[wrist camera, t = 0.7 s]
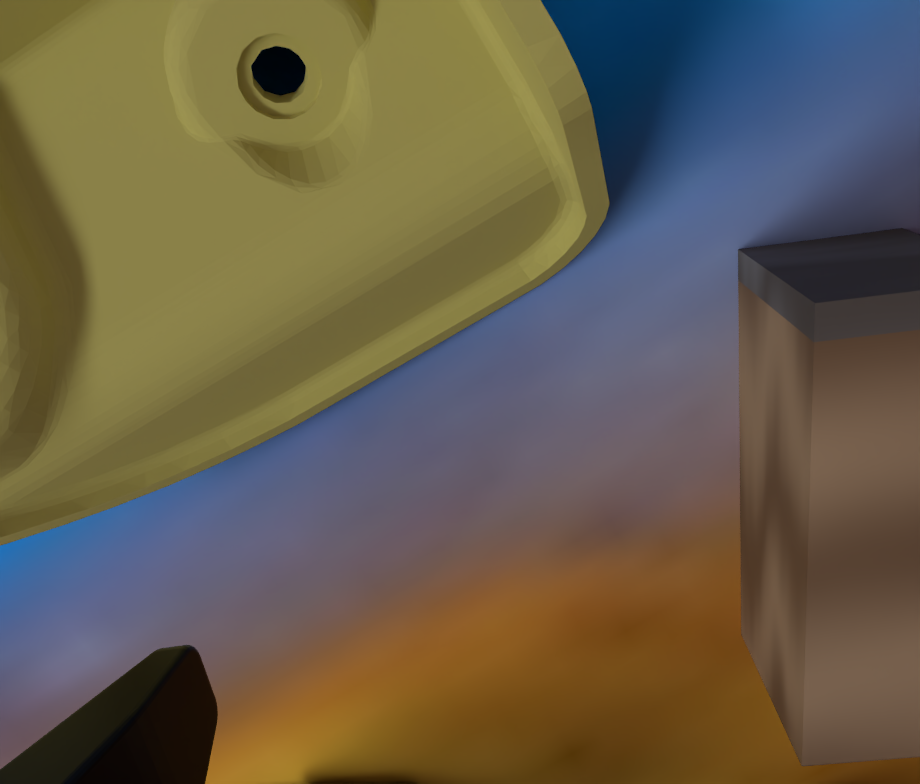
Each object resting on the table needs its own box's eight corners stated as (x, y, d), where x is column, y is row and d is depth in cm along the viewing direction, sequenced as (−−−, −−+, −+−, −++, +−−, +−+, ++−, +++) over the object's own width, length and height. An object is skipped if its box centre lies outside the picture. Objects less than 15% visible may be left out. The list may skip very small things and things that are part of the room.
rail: (875, 621, 24) (968, 752, 20) (741, 634, 24) (801, 766, 20) (902, 228, 20) (1031, 276, 15) (737, 249, 20) (814, 303, 15)
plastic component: (341, -334, 14) (620, 133, 13) (432, -75, 21) (616, 240, 20) (-446, 238, 17) (-282, 671, 16) (-129, 296, 24) (1, 595, 23)
